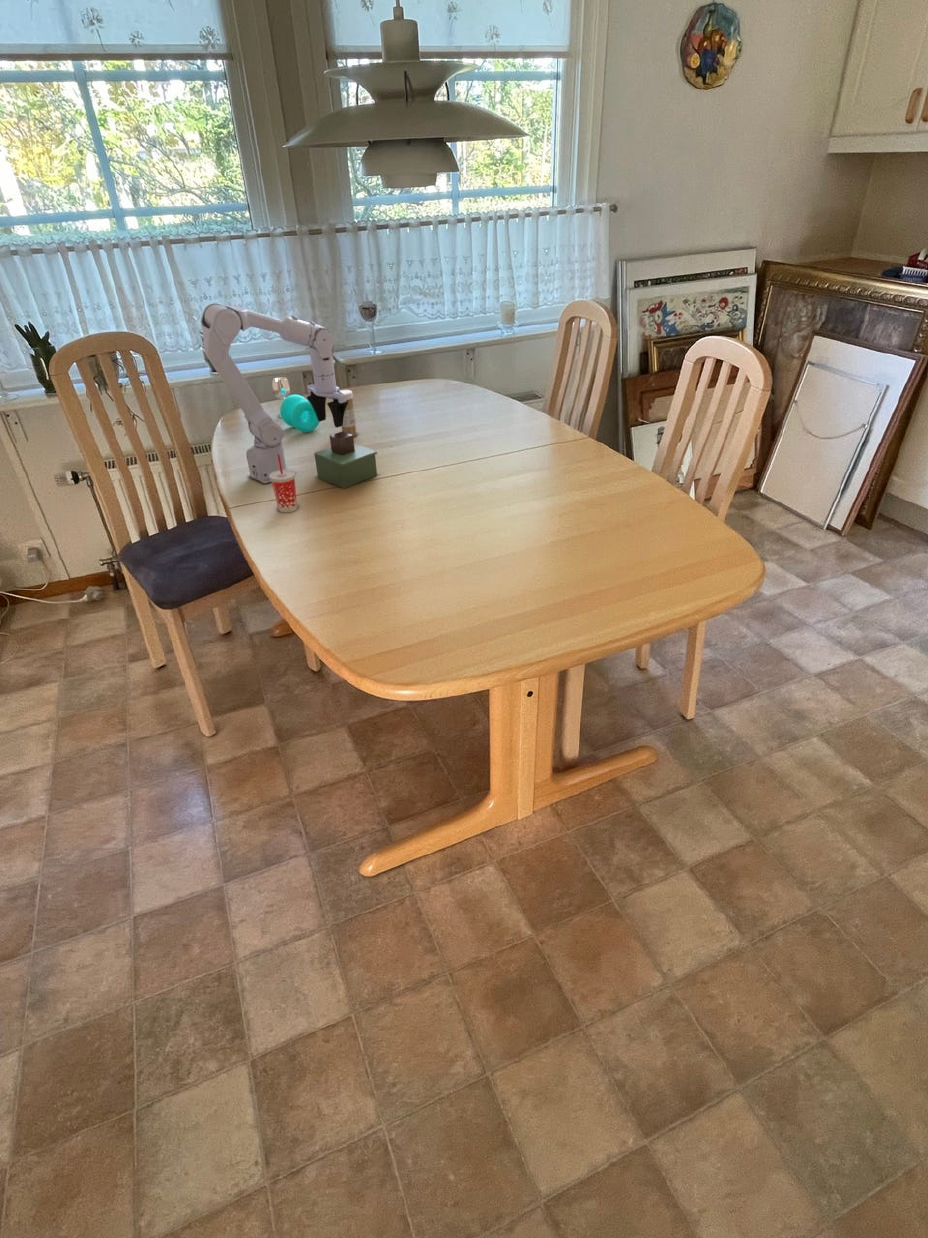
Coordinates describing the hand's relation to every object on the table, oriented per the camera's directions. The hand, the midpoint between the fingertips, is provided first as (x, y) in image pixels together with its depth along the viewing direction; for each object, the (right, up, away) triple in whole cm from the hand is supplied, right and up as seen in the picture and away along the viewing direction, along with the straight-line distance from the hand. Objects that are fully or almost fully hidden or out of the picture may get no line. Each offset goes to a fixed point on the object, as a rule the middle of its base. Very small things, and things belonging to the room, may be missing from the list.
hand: (330, 423), depth 193 cm
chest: (+5, -16, -4) cm, 17 cm away
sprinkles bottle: (+2, +2, +22) cm, 22 cm away
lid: (+6, -11, -8) cm, 15 cm away
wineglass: (-22, +13, +38) cm, 46 cm away
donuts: (-14, +6, +27) cm, 31 cm away
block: (+5, -10, -8) cm, 14 cm away
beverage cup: (-7, -27, -20) cm, 34 cm away
